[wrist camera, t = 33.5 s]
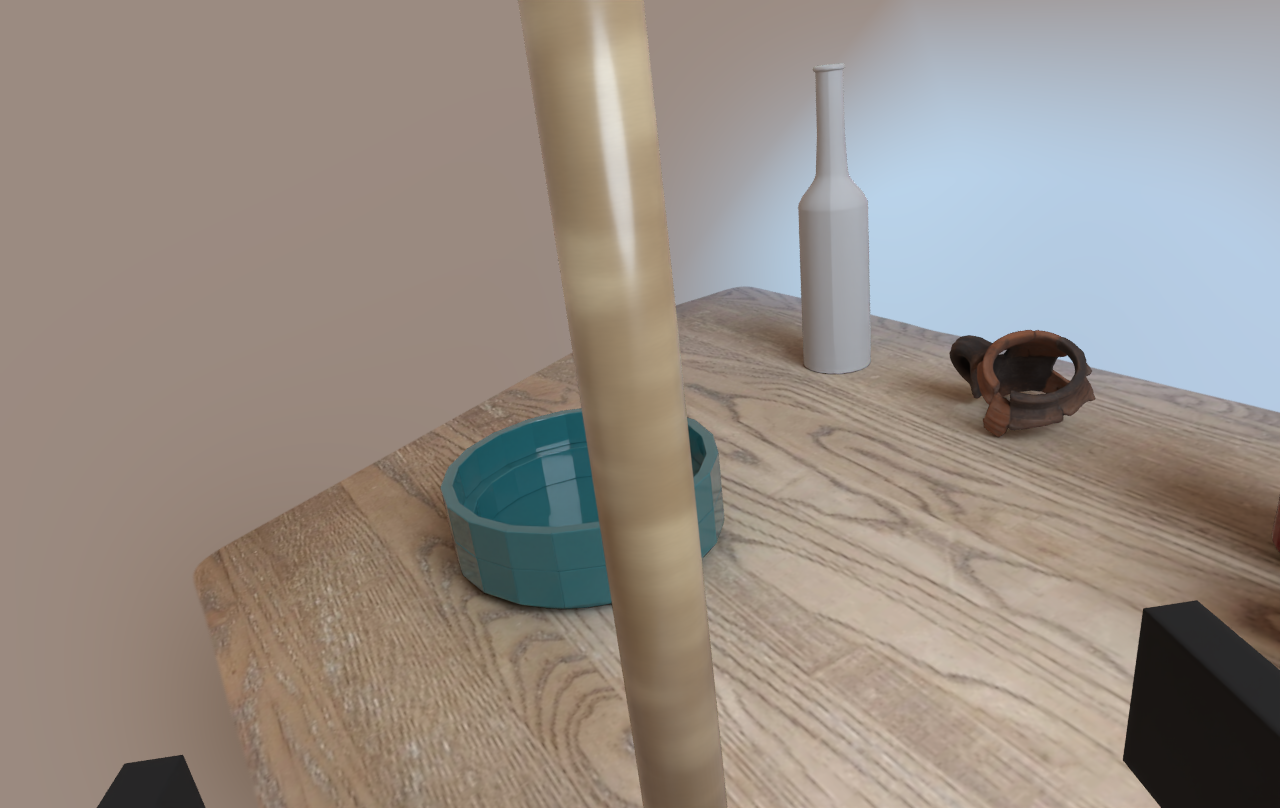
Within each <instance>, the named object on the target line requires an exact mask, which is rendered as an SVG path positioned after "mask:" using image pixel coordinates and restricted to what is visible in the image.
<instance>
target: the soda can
mask: <svg viewBox="0 0 1280 808" xmlns="http://www.w3.org/2000/svg"><path fill="white" fill-rule="evenodd" d="M1272 539H1273V543H1274V545H1275V547H1276V549H1277V550H1278V552H1279V553H1280V496H1279V501H1278V506H1277V511H1276V516H1275V521H1274V527H1273V532H1272Z"/></svg>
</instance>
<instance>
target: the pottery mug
mask: <svg viewBox="0 0 1280 808" xmlns="http://www.w3.org/2000/svg"><path fill="white" fill-rule="evenodd" d="M1004 350H1007V351H1006V352H1005V353H1004V354H1000V353H1001V352H1002V351H1004ZM999 354H1000V355H999ZM1067 355H1068V356H1069V357H1070V359H1071V360H1072V362H1073V363H1074V366H1075V375H1074V376H1073V378H1072V380H1071V381H1069V380H1067V379H1065V378H1064V377H1062V376H1061V375H1060V374H1059V373H1057V372H1056V371H1054V370H1053V365H1054V364H1055V361H1056V359H1057V358H1058V357H1064V356H1067ZM950 359H951V361H952V364H953V365H954V367H955V368H956V370H957V371H958V372H959V374H960V375H961V376H962V377H963V378H964V379H965V380H966V381H967V382H968V383H969V384H970V386H971V390H972V394H973V396H974V398H979V397H980V396H983V398H984V399H985V401H986V402H987V403H988V404H989V408H988V410H987V413H986V415H985V418H984V419H983V422H984V428H986V429H987V430H988V431H990V432H991V433H993V434H994V435H996V436H998V437H1000V436H1001V435H1003V434H1004V433H1005V432H1006V431H1007V429H1008V428H1009V429H1010V430H1019V429H1028V428H1033V427H1040V426H1046V425H1050V424H1053V423H1059V422H1061V421H1063V416H1064V415H1068V416H1071V415H1073V414H1074V413H1075V412H1077V411H1078V409H1079V408H1080V407H1081V406H1082V405H1083V404H1084V403H1086V402H1087V401H1093V400H1095V396H1094V394H1093V389H1092V387H1091V384H1090V383H1089V381H1088V380H1087V378H1086V376H1088V375H1090V374H1091V372H1092V370H1091V368H1090V367H1089V366H1088V365H1087V363H1086V358H1085V355H1084V352H1083V351H1082V350H1081V349H1079V348H1078V346H1076V345H1075V344H1074V343H1073V342H1071V341H1070V340H1068V339H1066V338H1064V337H1061V336H1059V335H1056V334H1054V333H1050V332H1045V331H1039V330H1036V331H1032V330H1025V331H1018V332H1013V333H1010V334H1007V335H1006V336H1003V337H1001V338H1000V339H998V340H996V341H995V342H994V343H991V342H989V341H987V340H985V339H983V338H981V337H976V336H970V335H968V336H963V337H960V338H958V339H957V340H956V342H955V343H954V344H953V345H952V347H951V351H950ZM1024 391H1042V392H1044V393H1046V394H1038V395H1031V394H1023V393H1019V392H1024ZM1008 394H1010V401H1008V400H1007V399H1006V398H1004V396H1006V395H1008Z"/></svg>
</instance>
